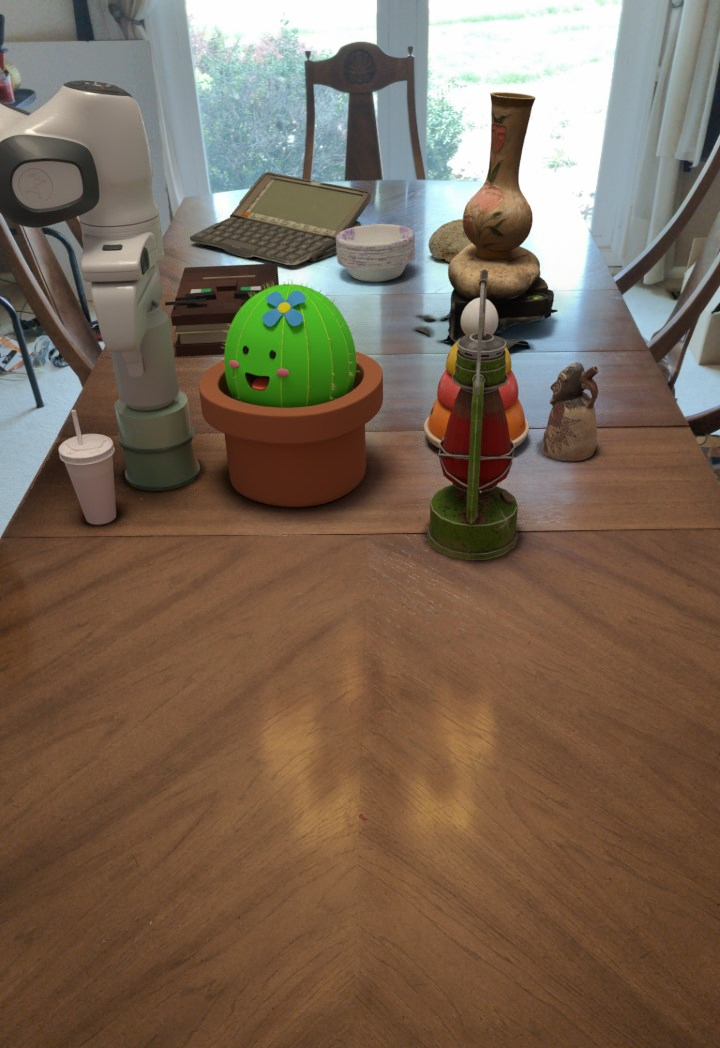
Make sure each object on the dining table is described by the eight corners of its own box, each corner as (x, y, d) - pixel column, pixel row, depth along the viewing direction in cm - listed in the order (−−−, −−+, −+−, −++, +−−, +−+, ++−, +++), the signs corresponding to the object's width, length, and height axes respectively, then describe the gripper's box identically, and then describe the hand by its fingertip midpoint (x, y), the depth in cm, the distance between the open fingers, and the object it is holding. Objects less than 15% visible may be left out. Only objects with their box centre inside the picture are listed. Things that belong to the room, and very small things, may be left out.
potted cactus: (268, 427, 140) (251, 245, 124) (409, 455, 132) (410, 264, 116) (180, 497, 124) (149, 299, 109) (334, 534, 116) (324, 325, 101)
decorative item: (441, 250, 191) (424, 216, 195) (439, 285, 199) (423, 251, 203) (499, 235, 192) (481, 202, 197) (495, 271, 200) (478, 238, 204)
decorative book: (283, 254, 180) (282, 310, 156) (286, 295, 184) (285, 356, 161) (178, 259, 179) (160, 315, 156) (184, 300, 184) (167, 361, 160)
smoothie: (85, 502, 124) (62, 398, 115) (134, 505, 123) (114, 400, 114) (66, 529, 119) (40, 421, 110) (117, 531, 118) (95, 423, 109)
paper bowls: (334, 266, 198) (332, 224, 193) (408, 261, 199) (408, 220, 194) (341, 290, 186) (339, 246, 181) (420, 285, 187) (420, 241, 182)
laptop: (269, 219, 228) (265, 170, 222) (375, 241, 211) (374, 189, 205) (187, 245, 213) (180, 193, 206) (294, 271, 196) (290, 216, 190)
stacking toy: (451, 409, 142) (455, 273, 131) (543, 429, 137) (556, 287, 125) (405, 450, 133) (405, 306, 121) (502, 472, 127) (512, 323, 115)
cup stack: (119, 492, 126) (104, 420, 120) (132, 457, 134) (119, 387, 127) (195, 490, 126) (184, 417, 120) (204, 454, 133) (194, 385, 127)
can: (192, 399, 123) (179, 303, 116) (144, 418, 119) (127, 320, 112) (155, 383, 128) (141, 290, 120) (108, 402, 123) (89, 306, 116)
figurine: (556, 433, 135) (564, 349, 128) (604, 446, 132) (615, 360, 125) (532, 453, 131) (539, 367, 124) (581, 467, 127) (591, 379, 120)
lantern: (517, 570, 109) (539, 299, 90) (421, 565, 110) (424, 297, 92) (519, 507, 120) (539, 254, 101) (432, 503, 121) (436, 252, 103)
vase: (586, 330, 166) (612, 96, 144) (484, 362, 156) (497, 116, 135) (495, 295, 181) (506, 79, 160) (397, 321, 172) (396, 96, 150)
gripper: (113, 219, 120) (132, 330, 128) (76, 271, 104) (101, 394, 112) (164, 217, 120) (180, 329, 128) (136, 269, 104) (156, 393, 112)
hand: (143, 360), depth 120 cm, fingers closed on can, 7 cm apart
